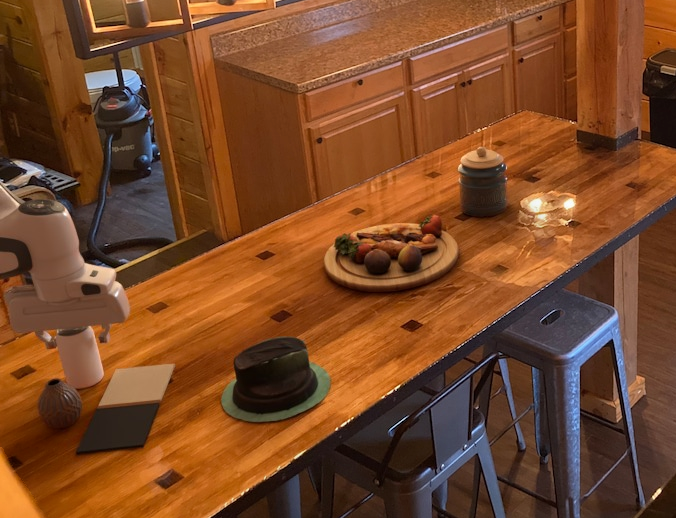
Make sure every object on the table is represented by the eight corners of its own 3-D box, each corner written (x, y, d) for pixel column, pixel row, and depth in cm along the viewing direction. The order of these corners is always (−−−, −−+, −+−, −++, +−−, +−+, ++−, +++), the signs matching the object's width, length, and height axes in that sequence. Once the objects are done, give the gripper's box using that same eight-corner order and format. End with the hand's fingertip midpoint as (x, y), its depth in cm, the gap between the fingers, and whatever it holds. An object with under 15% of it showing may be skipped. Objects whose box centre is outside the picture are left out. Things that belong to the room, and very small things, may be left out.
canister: (508, 197, 264) (506, 137, 257) (507, 217, 252) (505, 155, 245) (461, 198, 263) (458, 138, 256) (458, 218, 251) (454, 157, 244)
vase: (93, 416, 175) (83, 376, 172) (60, 438, 169) (49, 397, 166) (68, 406, 178) (57, 367, 174) (34, 427, 172) (22, 387, 168)
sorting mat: (76, 454, 165) (75, 451, 165) (116, 371, 188) (115, 368, 188) (143, 447, 167) (142, 444, 167) (175, 365, 190) (174, 362, 189)
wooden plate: (427, 220, 250) (424, 191, 247) (481, 270, 226) (480, 239, 223) (306, 251, 234) (302, 221, 231) (351, 308, 210) (347, 275, 206)
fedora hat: (295, 342, 196) (356, 382, 184) (229, 416, 188) (288, 462, 176) (256, 302, 185) (317, 342, 174) (184, 378, 177) (243, 425, 166)
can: (76, 371, 188) (62, 319, 183) (109, 369, 188) (97, 317, 184) (61, 390, 182) (47, 337, 177) (96, 389, 182) (82, 336, 178)
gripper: (-6, 296, 172) (14, 360, 178) (114, 285, 175) (130, 347, 181) (7, 279, 178) (26, 341, 183) (124, 268, 181) (139, 330, 187)
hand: (79, 344), depth 182 cm, fingers open, 8 cm apart
